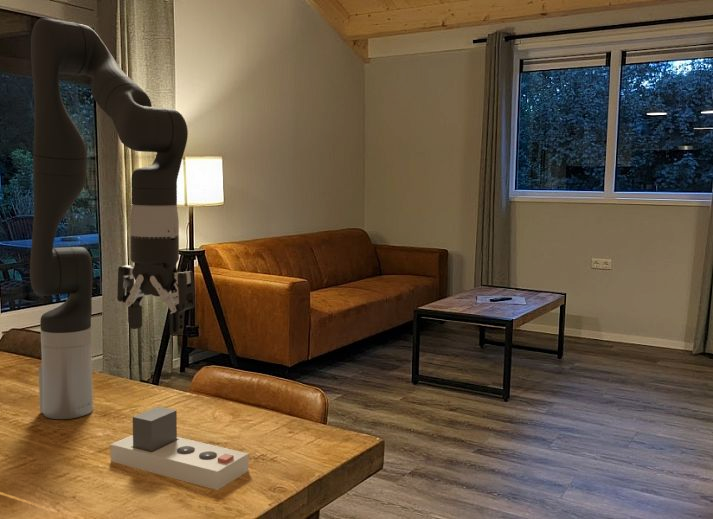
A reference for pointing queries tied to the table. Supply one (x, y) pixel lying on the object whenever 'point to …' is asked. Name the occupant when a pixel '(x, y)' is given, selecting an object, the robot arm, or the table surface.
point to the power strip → (185, 461)
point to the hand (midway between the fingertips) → (155, 331)
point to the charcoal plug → (154, 429)
